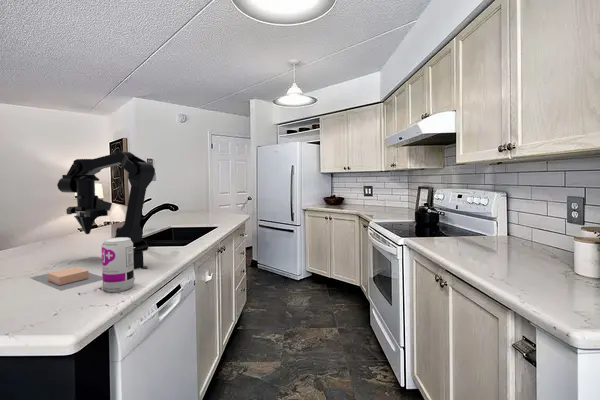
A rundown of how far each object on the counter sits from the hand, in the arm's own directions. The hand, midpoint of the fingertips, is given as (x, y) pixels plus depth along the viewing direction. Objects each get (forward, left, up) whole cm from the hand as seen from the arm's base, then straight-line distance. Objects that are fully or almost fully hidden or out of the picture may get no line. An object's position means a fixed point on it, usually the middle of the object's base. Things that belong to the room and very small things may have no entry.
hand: (87, 233), depth 120 cm
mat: (-15, +13, -12) cm, 23 cm away
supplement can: (-35, +8, -12) cm, 38 cm away
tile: (-13, +14, -10) cm, 22 cm away
